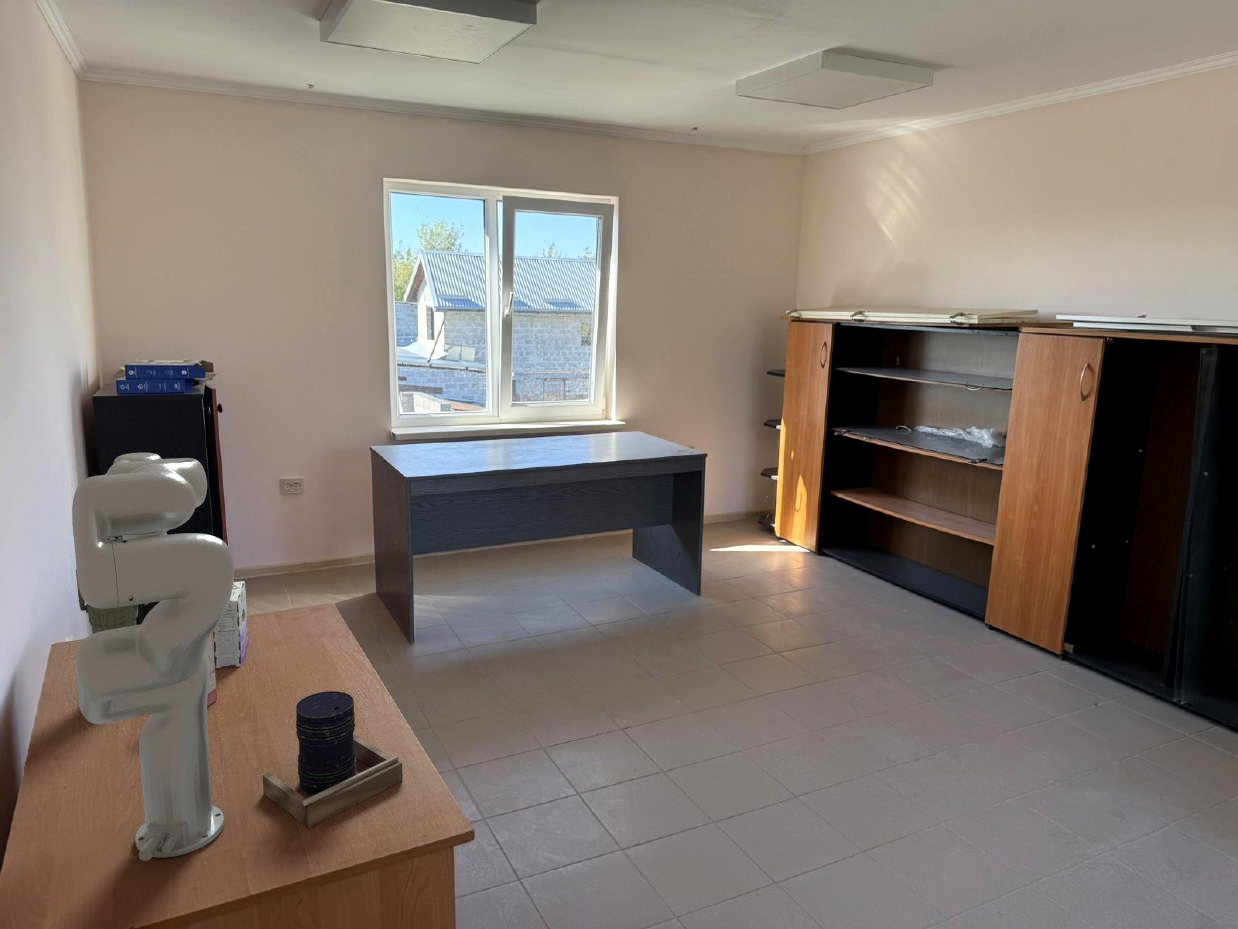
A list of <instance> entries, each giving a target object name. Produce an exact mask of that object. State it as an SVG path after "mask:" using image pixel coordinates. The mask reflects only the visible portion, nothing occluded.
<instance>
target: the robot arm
mask: <svg viewBox="0 0 1238 929" xmlns="http://www.w3.org/2000/svg"><path fill="white" fill-rule="evenodd" d="M207 491H208V479H207V475H206V472H205V469H204V467H203V464H202V463H201V462H200V461H198V460H197V459H195V458H190V457H182V458H181V457H179V458H162V457H161V456H160V455H158V454H157V453H152V452H131V453H125V454H122V455H119V456H117V457H116V458H115V459H114V461H113V464H112V465H111V466H110V468H108V470H107V472H106V473H105V474H102V475H94V476H90V477H89V476H88V477H87V478H85V479H84V480H82V481H81V482H80V483H79V485H78V486H77V487H76V489H75V491H74V495H73V500H72V507H71V515H72V516H71V521H72V537H73V543H74V544H73V545H74V556H75V566H76V568H75V570H76V569H77V577H76V580H77V579H78V586H79V590H80V593H81V596H82V598H83V600H84V601H85V604H86V605H87V604H88V605H90V606H92V607H94V608H100V609H108V608H117V607H123V606H130V605H136V604H138V620H139V621H138V622H139V623H140V624H136V625H134V626H129V627H122V628H117V629H111V630H105V631H101V632H97V633H94V634H93V633H92V634H90V635H88V636H86V637H85V638H84V639H82V641H81V642H80V644H79V647H78V649H77V652H76V658H75V678H76V679H75V680H76V683H75V684H76V695H77V701H78V706H79V709H80V712H81V714H82V716H83V717H84V718H85V719H86V721H87V722H89V723H91V724H93V725H94V724H95V725H105V724H110V723H111V724H112V723H116V722H121V721H124V720H127V719H128V720H130V719H133V718H138V717H141V716H142V717H143V716H149V715H150V716H149V717H148V719H147V720H146V722H145V724H144V726H143V728H142V729H141V732H140V735H139V740H138V750H139V761H140V774H141V786H142V795H143V796H142V798H143V808H144V809H143V810H144V823H143V824H141V825H140V827H139V828H138V829H137V831H136V834H135V836H134V837H135V838H134V839H135V847H136V848H137V850H138V851H139V852H138V858H139V859H140V860H141V861H142V862H145V861H146V862H147V861H150V860H151V859H152V858H160V859H161V858H162V859H163V858H164V859H165V858H173V857H178V856H183V855H186V854H189V853H193V852H194V851H197V850H200V849H201V848H203V847H205V846H206V845H208V844H209V843H211V842H212V841H213V840H215V839H217V837H218V836H219V835H220V834H221V832H222V831H223V829H224V825H225V815H224V813H223V811H222V810H221V809H220V808H218V807H217V806H215V805H213V793H212V778H211V776H212V775H211V765H210V764H211V763H210V750H209V748H210V747H209V734H208V732H209V731H208V730H209V729H208V707H207V698H208V688H209V680H210V664H209V660H208V657H207V655H206V653H205V652H206V648H207V643H208V639H209V637H210V635H211V634H212V633H213V630H214V629H215V627H216V626H217V624H218V623H219V621H220V620H221V618H222V617H223V615H224V613H225V611H226V609H227V607H228V604H229V602H230V598H231V594H232V589H233V583H234V582H235V565H234V564H235V563H234V557H233V554H232V551H231V549H230V547H229V546H228V544H227V543H226V542H225V541H224V540H222V539H221V538H219V537H217V536H214V535H211V534H207V533H196V532H195V533H194V532H193V533H192V532H191V533H190V532H189V533H186V532H185V533H184V532H183V533H174V534H168V533H167V532H168V531H170V530H173V529H177V528H178V527H180V526H182V525H183V524H185V523H186V522H187V521H189V520H190V518H191V517H192V516H193V515H194V512H195V509H196V508H198V507H200V506H201V505H202V504H203V503H204V502H205V499H206V497H207ZM114 536H119V537H122V538H123V540H119V541H110V542H108V541H107V537H114Z"/></svg>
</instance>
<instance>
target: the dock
mask: <svg viewBox="0 0 1238 929" xmlns="http://www.w3.org/2000/svg"><path fill="white" fill-rule="evenodd" d="M353 740H354V747H355V753H356V755H355V756H356V760H359V761H361V762H362V763H364V764H366V765H367V766H369V768H368V769H366V770H364V771H361V772H359V773H357V774H356V775H355V776H353V777H351V778H349V779H347V780H345V781H343V782H341V783H339V784H337V785H335V786H332V787H330V788H328V789H326V790H324V791H322V792H320V793H318V794H316V795H314V796H312V795H311V796H310V797H308V798H306V797H304V796H303V795H301V794H300V793H299V792H297V791H295V790H294V789H292V788H291V787H290V786H289V785H287V784H286V783H285V782H283V781H282V780H281V779H279V778H278V777H276V776H275V775H273V774H272V773H271V772H266V773H265V774H263V775H262V784H263V785H262V786H263V791H262V792H263V794H264V795H265V796H266V797H268V798H269V800H272V801H273V802H274V803H276V804H277V805H278V807H281V808H282V809H283V810H285V811H286V812H287V813H289V814H290V815H291V816H292V817H294V818H295V819H296V820H298V821H299V822H300V823H302V824H303V825H304V826H305V827H307V828H308V829H311V828H314V827H315V826H317V825H319V824H321V823H322V822H323V823H324V822H325V821H327V820H329V819H330V818H332V817H335V816H336V814H337V815H338V814H340V813H342V812H344V811H346V810H348V809H350V808H352V807H354V806H355V805H354V804H356V805H358V804H360V803H362V802H364V801H366V800H367V798H368V799H369V797H370V798H372V797H374V796H375V795H378V794H379V793H381V792H383V791H385V790H387V789H389V788H391V787H393V786H394V784H395V785H396V784H399V783H401V782H402V780H403V762H402V761H400V760H399V756H398V755H395V756H391V755H390V754H388V753H386V752H384V750H381V748H380V749H379V748H378V747H376V746H374V745H373V744H371V743H370V742H368V741H366V740H365V739H363V738H361V737H359V736H358V735H357V734H353ZM388 787H389V788H388ZM361 801H362V802H361ZM359 802H360V803H359ZM357 803H358V804H357ZM353 805H354V806H353ZM351 806H352V807H351ZM349 807H350V808H349ZM347 808H348V809H347ZM345 809H346V810H345ZM341 811H342V812H341Z"/></svg>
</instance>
